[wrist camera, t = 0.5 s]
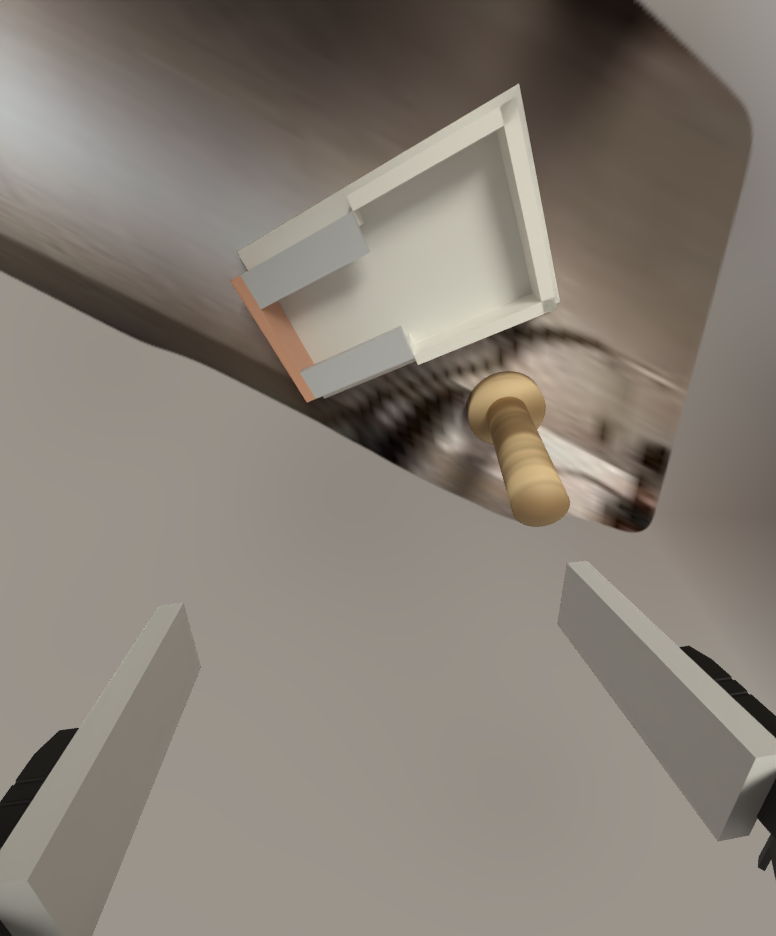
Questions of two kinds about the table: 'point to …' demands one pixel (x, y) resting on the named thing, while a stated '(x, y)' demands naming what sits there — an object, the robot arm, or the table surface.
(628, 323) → the table surface
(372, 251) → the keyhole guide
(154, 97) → the table surface
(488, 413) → the headed peg
